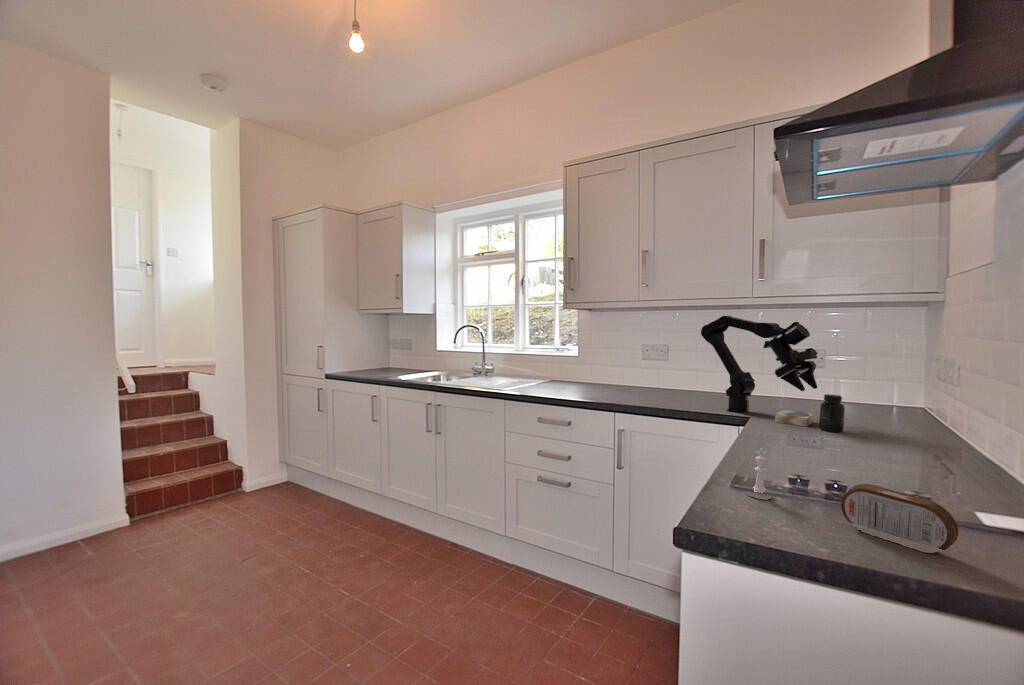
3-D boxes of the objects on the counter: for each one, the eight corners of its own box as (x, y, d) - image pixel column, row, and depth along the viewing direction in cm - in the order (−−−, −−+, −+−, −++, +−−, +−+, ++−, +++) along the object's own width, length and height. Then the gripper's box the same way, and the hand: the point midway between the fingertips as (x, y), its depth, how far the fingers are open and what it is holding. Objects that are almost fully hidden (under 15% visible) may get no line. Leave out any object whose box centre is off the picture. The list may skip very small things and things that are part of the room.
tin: (956, 558, 71) (960, 505, 71) (951, 564, 69) (955, 510, 69) (844, 522, 83) (846, 477, 83) (837, 526, 82) (839, 480, 81)
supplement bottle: (847, 433, 150) (849, 397, 149) (824, 432, 151) (826, 396, 150) (837, 428, 156) (839, 394, 156) (815, 427, 158) (816, 393, 157)
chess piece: (746, 489, 99) (748, 444, 98) (772, 494, 96) (774, 447, 96) (745, 497, 94) (747, 450, 94) (773, 502, 92) (775, 453, 92)
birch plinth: (774, 421, 166) (775, 413, 166) (782, 417, 173) (782, 409, 173) (806, 426, 159) (807, 417, 159) (813, 422, 166) (813, 413, 166)
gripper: (790, 340, 157) (818, 380, 150) (816, 339, 167) (843, 376, 160) (763, 357, 165) (789, 396, 158) (789, 355, 175) (814, 391, 168)
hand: (809, 389), depth 161 cm, fingers open, 9 cm apart
